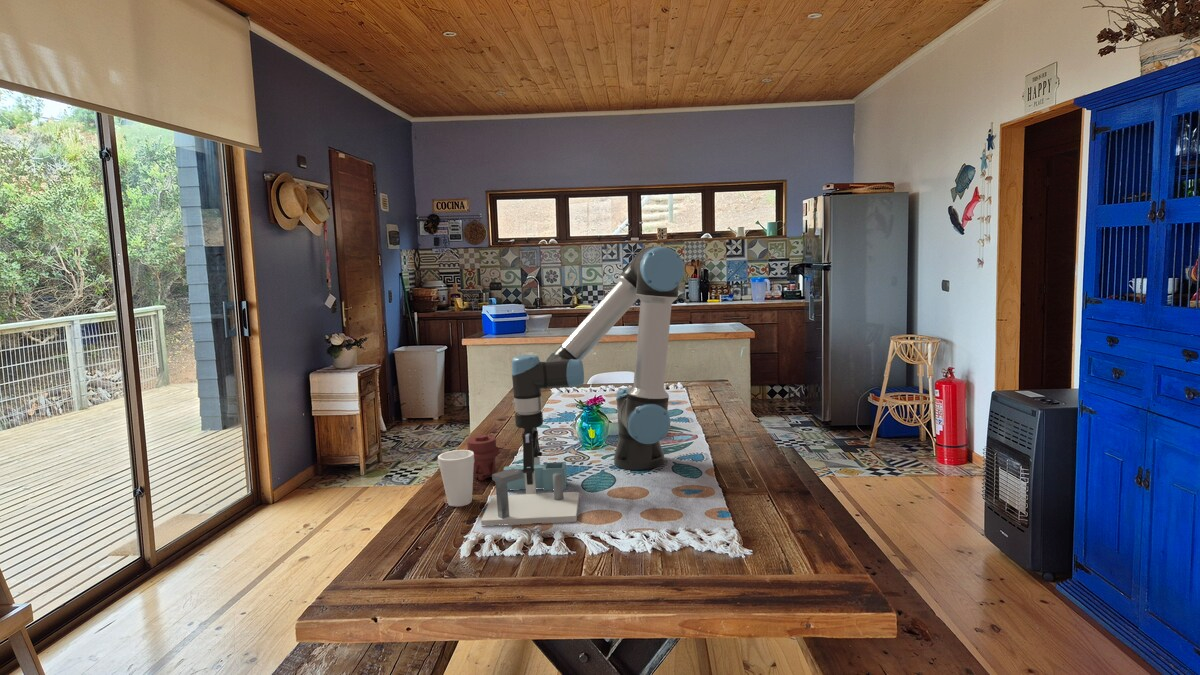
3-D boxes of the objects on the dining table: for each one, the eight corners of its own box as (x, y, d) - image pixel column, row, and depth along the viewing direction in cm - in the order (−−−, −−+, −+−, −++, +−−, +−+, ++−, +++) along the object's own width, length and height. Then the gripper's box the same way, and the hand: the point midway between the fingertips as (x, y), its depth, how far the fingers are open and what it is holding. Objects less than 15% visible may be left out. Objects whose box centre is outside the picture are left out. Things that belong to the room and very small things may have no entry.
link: (567, 482, 204) (565, 461, 204) (565, 489, 198) (564, 468, 198) (507, 485, 205) (505, 464, 204) (503, 492, 199) (502, 471, 198)
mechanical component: (505, 471, 218) (494, 482, 208) (474, 471, 220) (461, 482, 210) (502, 431, 216) (491, 440, 206) (471, 431, 218) (458, 440, 208)
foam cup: (447, 511, 187) (442, 462, 186) (437, 501, 195) (433, 454, 194) (482, 503, 192) (478, 455, 190) (471, 493, 200) (467, 447, 198)
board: (579, 497, 192) (577, 468, 191) (576, 521, 175) (574, 489, 174) (492, 501, 192) (490, 472, 191) (481, 526, 176) (478, 494, 175)
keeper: (517, 514, 182) (513, 468, 181) (526, 518, 179) (523, 471, 177) (495, 521, 178) (491, 474, 177) (505, 526, 175) (501, 478, 173)
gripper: (520, 402, 211) (525, 473, 214) (508, 423, 187) (514, 503, 190) (546, 401, 211) (550, 472, 214) (537, 421, 187) (543, 502, 189)
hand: (533, 487), depth 202 cm, fingers open, 12 cm apart
